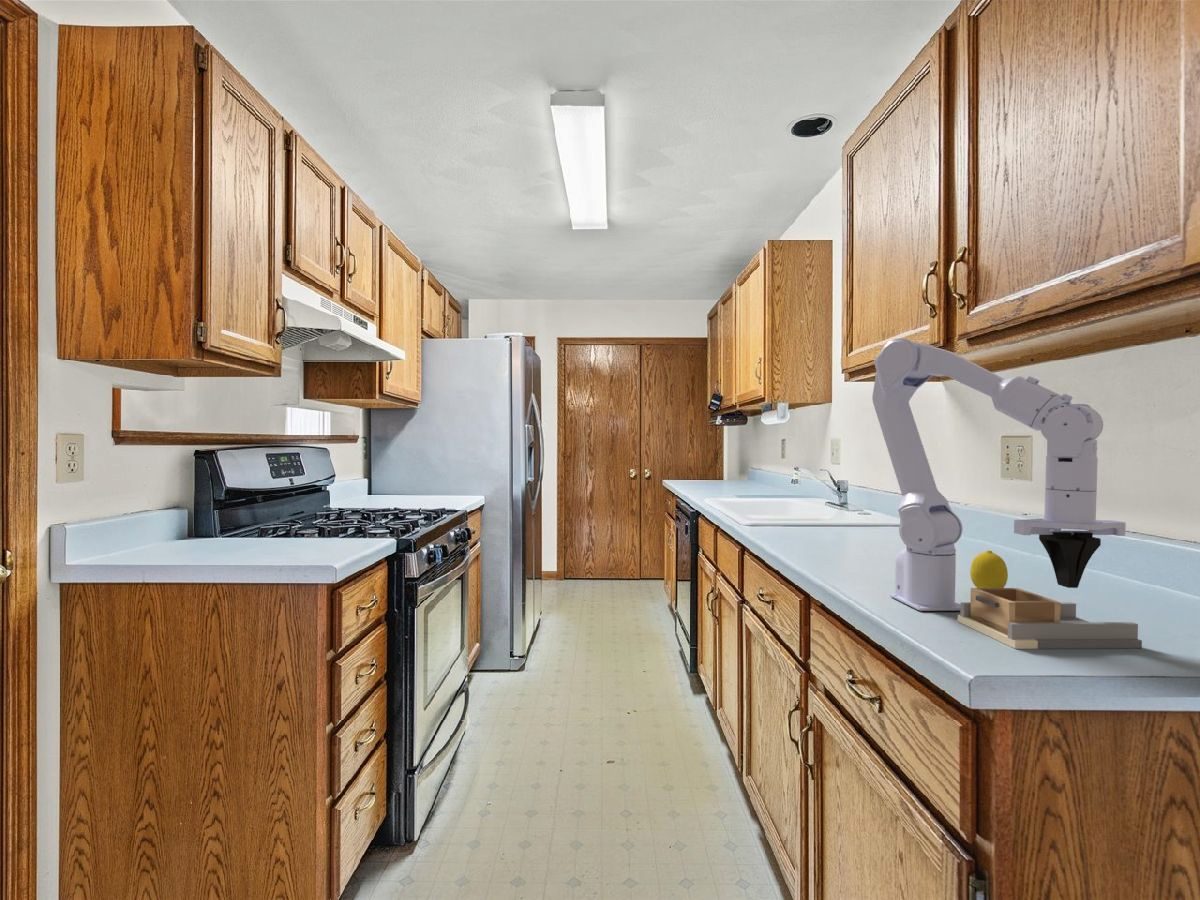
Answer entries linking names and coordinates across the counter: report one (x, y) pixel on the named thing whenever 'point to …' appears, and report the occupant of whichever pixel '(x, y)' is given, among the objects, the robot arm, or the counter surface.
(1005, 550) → the counter surface
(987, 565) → the lemon
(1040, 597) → the crate
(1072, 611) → the bay
